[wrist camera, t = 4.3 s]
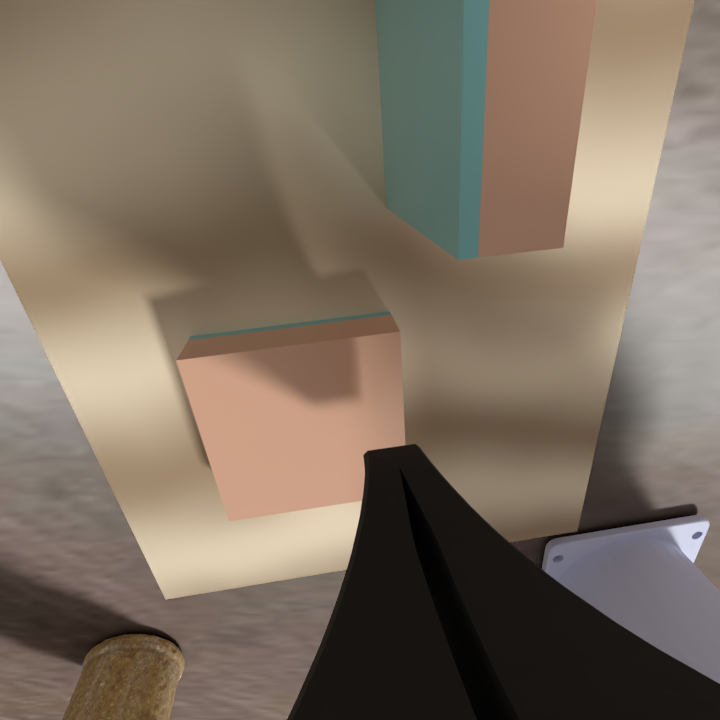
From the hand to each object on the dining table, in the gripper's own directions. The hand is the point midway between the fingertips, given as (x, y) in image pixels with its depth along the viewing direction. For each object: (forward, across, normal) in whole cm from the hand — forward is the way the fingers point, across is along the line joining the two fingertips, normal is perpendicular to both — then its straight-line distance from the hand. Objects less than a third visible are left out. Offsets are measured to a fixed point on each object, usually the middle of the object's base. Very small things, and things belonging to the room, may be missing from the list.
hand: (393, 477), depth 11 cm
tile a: (+3, -1, 0) cm, 3 cm away
